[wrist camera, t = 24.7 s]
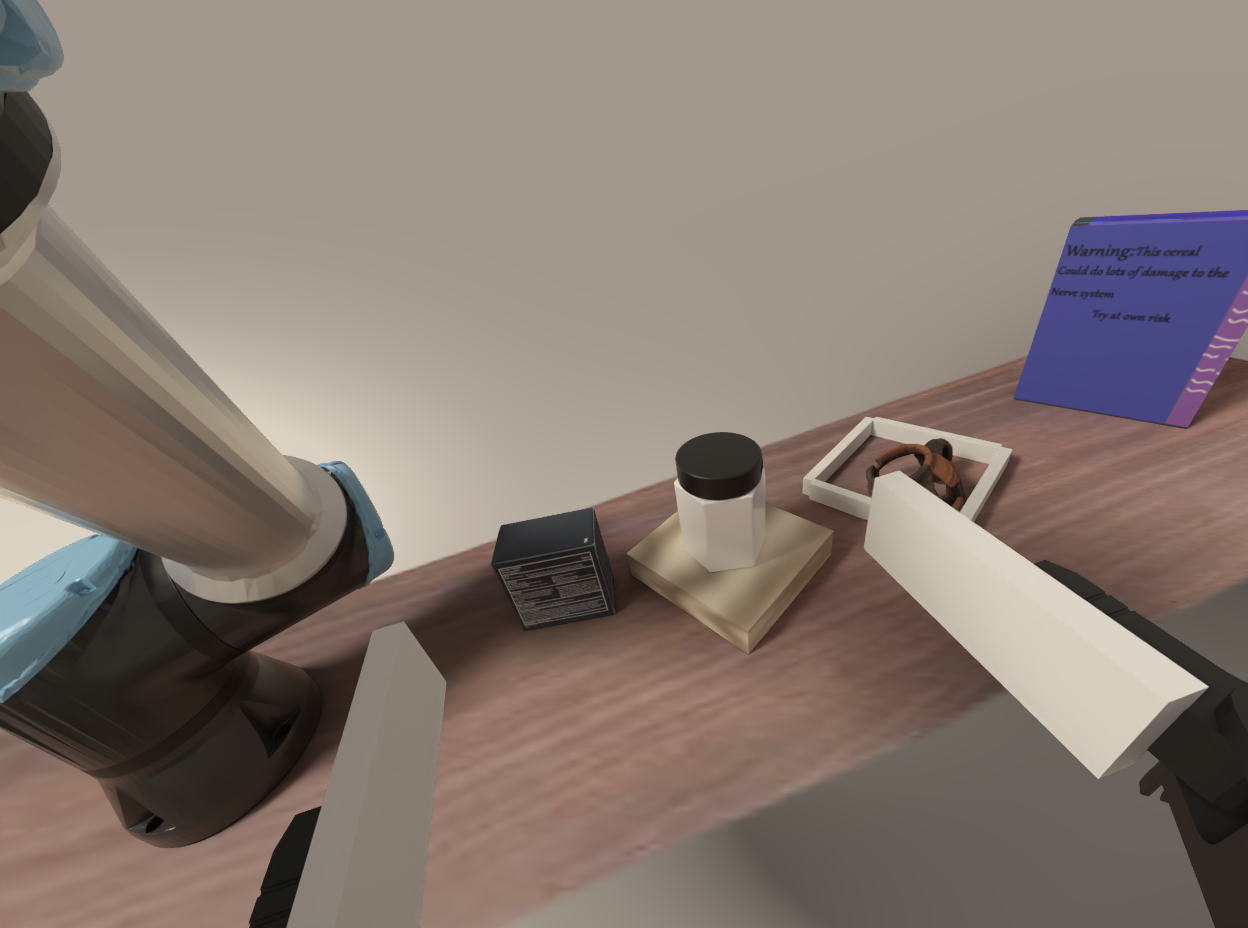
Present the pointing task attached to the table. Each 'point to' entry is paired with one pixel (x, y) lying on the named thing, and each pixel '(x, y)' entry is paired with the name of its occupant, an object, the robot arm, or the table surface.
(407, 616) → the table surface
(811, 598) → the table surface
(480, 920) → the table surface
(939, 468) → the pottery mug
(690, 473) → the jar
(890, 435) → the grey tray rim
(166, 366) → the robot arm
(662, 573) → the maple base
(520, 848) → the table surface
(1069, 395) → the cereal box
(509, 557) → the small box
